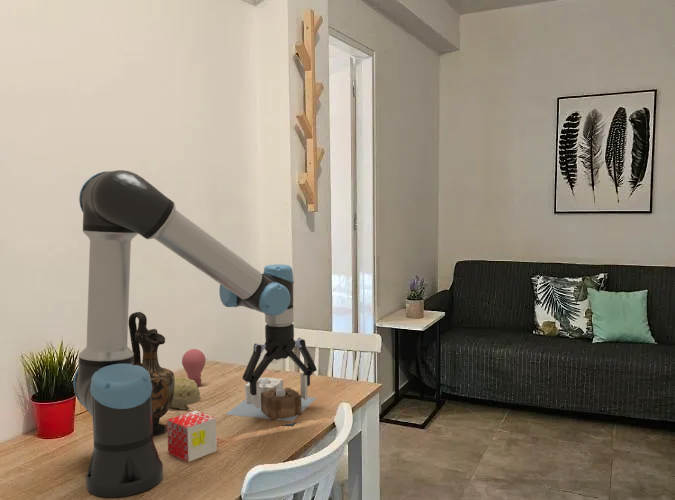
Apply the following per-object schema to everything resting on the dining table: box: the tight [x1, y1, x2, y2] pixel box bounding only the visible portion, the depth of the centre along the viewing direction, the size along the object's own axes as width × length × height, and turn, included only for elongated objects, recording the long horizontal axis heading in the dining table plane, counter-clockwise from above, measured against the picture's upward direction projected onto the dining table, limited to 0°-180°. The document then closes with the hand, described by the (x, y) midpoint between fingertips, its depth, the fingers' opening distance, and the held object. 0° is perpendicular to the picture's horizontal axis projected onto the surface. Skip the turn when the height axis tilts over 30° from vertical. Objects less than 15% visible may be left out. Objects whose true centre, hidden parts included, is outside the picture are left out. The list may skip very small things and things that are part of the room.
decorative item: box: [169, 376, 201, 410], centre depth 176 cm, size 10×10×10 cm
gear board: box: [225, 377, 317, 428], centre depth 170 cm, size 19×19×8 cm
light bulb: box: [181, 348, 207, 387], centre depth 192 cm, size 7×7×12 cm
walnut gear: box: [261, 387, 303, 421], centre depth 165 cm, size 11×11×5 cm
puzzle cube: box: [166, 410, 218, 463], centre depth 144 cm, size 8×8×8 cm
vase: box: [128, 311, 176, 436], centre depth 156 cm, size 12×12×30 cm
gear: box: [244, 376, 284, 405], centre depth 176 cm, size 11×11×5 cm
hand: (280, 402), depth 165 cm, fingers open, 13 cm apart
